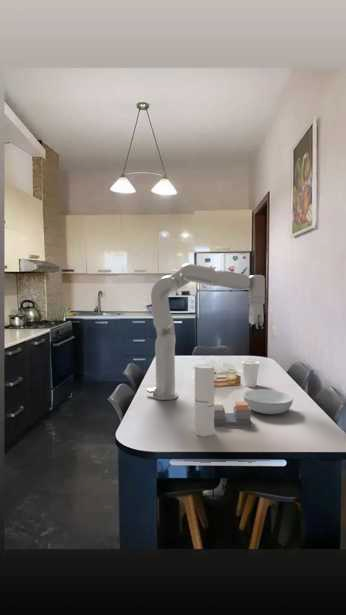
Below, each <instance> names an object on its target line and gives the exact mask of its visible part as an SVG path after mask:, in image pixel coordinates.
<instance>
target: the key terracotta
mask: <svg viewBox="0 0 346 615" xmlns="http://www.w3.org/2000/svg"><path fill="white" fill-rule="evenodd" d="M235 406H236V411H248V408H249V407H248V403H247V402H245V401H235Z"/></svg>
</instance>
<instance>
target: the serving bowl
mask: <svg viewBox="0 0 346 615" xmlns="http://www.w3.org/2000/svg"><path fill="white" fill-rule="evenodd" d="M243 400H244V401H243V402H247V403H248V408H249V409H250V410H253V411H254V412H257V413H260V414H264V415H277V414H282V413H285V412H287V411H288V410H289V409H290V408H291V407H292V404H293V400H294V398H293V396H292V395H290V394H289V393H287V392H284V391H280V390H273V389H262V388H261V389H259V388H258V389H251V390H250V389H249V390H246V391H245V392H244V393H243Z"/></svg>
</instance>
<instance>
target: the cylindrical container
mask: <svg viewBox="0 0 346 615" xmlns="http://www.w3.org/2000/svg"><path fill="white" fill-rule="evenodd" d="M214 402H215V365H213V364H207V363H201V364H200V363H199V364H195V365H194V433H195V434H196V435H197V436H200V437H210V436H213V435H214V434H215V427H214Z"/></svg>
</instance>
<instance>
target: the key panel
mask: <svg viewBox="0 0 346 615" xmlns="http://www.w3.org/2000/svg"><path fill="white" fill-rule="evenodd" d="M252 423H253V422H252V420H251V408H249V407H248V411H236V405H234V406H233V412H226V411H225V406H223V411H214V428H215V427H217V428H252V426H253V424H252Z"/></svg>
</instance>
